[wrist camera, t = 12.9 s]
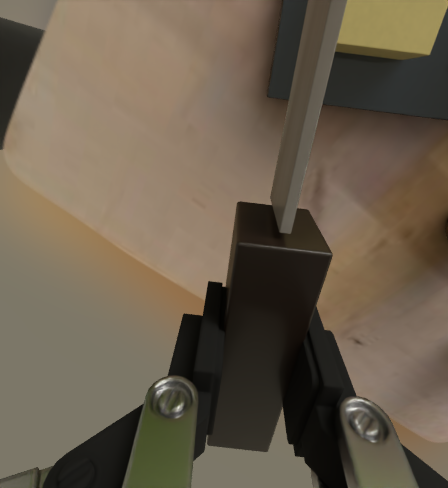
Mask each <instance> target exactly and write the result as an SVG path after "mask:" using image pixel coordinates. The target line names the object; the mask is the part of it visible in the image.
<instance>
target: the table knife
mask: <svg viewBox="0 0 448 488" xmlns="http://www.w3.org/2000/svg"><path fill="white" fill-rule="evenodd" d="M346 4H347V0H308V4H307V9H306V14H305V19H304V25H303V30H302V35H301V40H300V45H299V51H298V56H297V61H296V66H295V71H294V77H293V82H292V87H291V92H290V97H289V103H288V108H287V113H286V118H285V123H284V129H283V134H282V139H281V144H280V149H279V155H278V160H277V165H276V170H275V175H274V181H273V186H272V191H271V196H270V199H271V202H272V205H265V204H257V203H248V202H238V203H237V207H236V215H235V222H234V229H233V237H232V244H231V251H230V258H229V266H228V273H227V280H226V299H225V314H224V328H223V330H224V332H225V338H224V354H223V368H222V378H221V384H220V391H219V397H218V403H217V409H216V416H215V422H214V428H213V434H212V435H208V438H207V444H208V445H209V446H217V447H226V448H234V449H244V450H252V451H261V452H267V451H268V449H269V446H270V443H271V440H272V437H273V434H274V431H275V428H276V425H277V422H278V419H279V416H280V413H281V410H282V407H283V401H284V398H285V395H286V392H287V389H288V386H289V383H290V380H291V377H292V374H293V371H294V368H295V365H296V362H297V359H298V356H299V353H300V350H301V347H302V344H303V341H305V338H306V335H307V332H308V329H309V326H310V323H311V320H312V317H313V314H314V311H315V308H316V305H317V301H318V298H319V295H320V292H321V289H322V286H323V283H324V280H325V277H326V274H327V271H328V268H329V265H330V262H331V259H332V256H333V255H332V252H331V250H330V248H329V246H328V245H327V243H326V241H325V239H324V237H323V236H322V234H321V232H320V230H319V228H318V226H317V225H316V223H315V221H314V219H313V217H312V216H311V214H310V212H309V210H307V209H298V208H297V206H298V202H299V198H300V194H301V190H302V186H303V181H304V177H305V173H306V169H307V165H308V161H309V157H310V153H311V148H312V144H313V140H314V136H315V132H316V128H317V124H318V120H319V115H320V111H321V107H322V103H323V99H324V95H325V91H326V87H327V82H328V78H329V74H330V70H331V66H332V62H333V58H334V53H335V49H336V45H337V41H338V37H339V33H340V29H341V25H342V20H343V16H344V12H345V8H346Z"/></svg>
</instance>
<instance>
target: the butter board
mask: <svg viewBox="0 0 448 488" xmlns="http://www.w3.org/2000/svg"><path fill="white" fill-rule="evenodd" d="M307 4H308V0H282V4H281V10H280V17H279V23H278V29H277V35H276V41H275V47H274V54H273V60H272V66H271V72H270V78H269V85H268V91H267V97H269V98H277V99H284V100H289V97H290V92H291V87H292V82H293V77H294V71H295V66H296V61H297V56H298V51H299V45H300V40H301V35H302V30H303V25H304V19H305V14H306V9H307ZM322 104H324V105H331V106H339V107H347V108H355V109H363V110H371V111H378V112H386V113H394V114H402V115H410V116H418V117H425V118H433V119H441V120H448V7H447V10H446V12H445V15H444V18H443V20H442V23H441V26H440V28H439V31H438V34H437V37H436V39H435V42H434V45H433V47H432V50H431V53H430V55H428V56H423V57H417V58H412V59H406V60H397V59H390V58H382V57H374V56H366V55H358V54H351V53H343V52H335V53H334V58H333V62H332V66H331V70H330V74H329V78H328V82H327V87H326V91H325V95H324V99H323V103H322Z"/></svg>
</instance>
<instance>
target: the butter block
mask: <svg viewBox="0 0 448 488" xmlns="http://www.w3.org/2000/svg"><path fill="white" fill-rule="evenodd" d="M447 7H448V0H347V4H346V8H345V12H344V16H343V20H342V25H341V29H340V33H339V37H338V41H337V45H336V49H335V52H343V53H351V54H358V55H366V56H374V57H382V58H390V59H397V60H406V59H412V58H417V57H423V56H428V55H430V53H431V50H432V47H433V45H434V42H435V39H436V37H437V34H438V31H439V28H440V26H441V23H442V20H443V18H444V15H445V12H446V10H447Z"/></svg>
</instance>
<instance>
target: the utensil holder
mask: <svg viewBox="0 0 448 488" xmlns="http://www.w3.org/2000/svg"><path fill="white" fill-rule="evenodd" d="M446 236H447V239H448V221H447V224H446Z"/></svg>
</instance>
